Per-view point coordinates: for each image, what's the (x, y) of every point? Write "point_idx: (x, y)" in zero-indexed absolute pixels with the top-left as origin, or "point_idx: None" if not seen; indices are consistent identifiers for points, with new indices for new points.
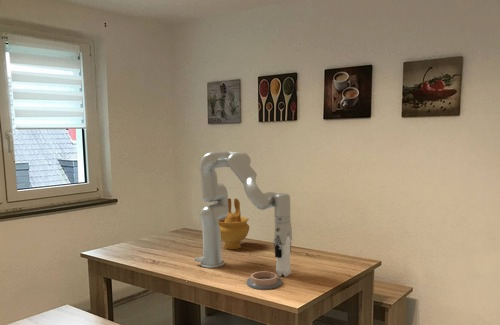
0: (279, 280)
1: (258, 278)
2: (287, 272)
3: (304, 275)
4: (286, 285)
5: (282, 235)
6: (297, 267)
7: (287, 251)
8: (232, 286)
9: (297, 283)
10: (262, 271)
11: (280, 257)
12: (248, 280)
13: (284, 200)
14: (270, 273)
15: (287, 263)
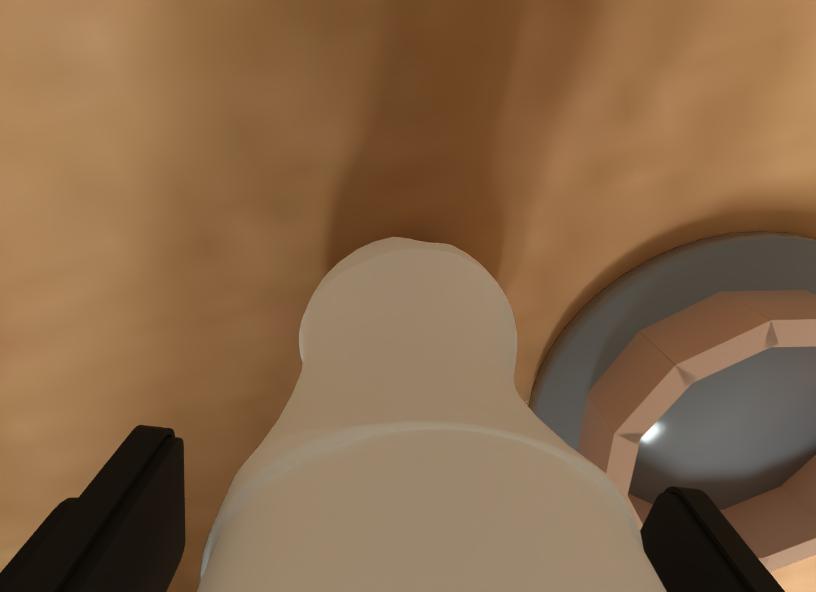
0: (690, 281)
1: (651, 489)
2: (477, 261)
3: (313, 31)
4: (761, 165)
5: None
6: (29, 234)
7: (590, 501)
8: (804, 585)
9: (674, 40)
10: None
11: (696, 502)
12: None
13: None
14: (634, 430)
15: (472, 319)
